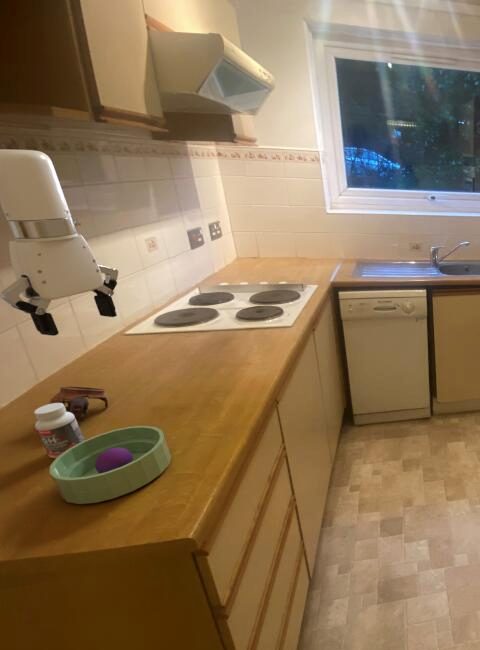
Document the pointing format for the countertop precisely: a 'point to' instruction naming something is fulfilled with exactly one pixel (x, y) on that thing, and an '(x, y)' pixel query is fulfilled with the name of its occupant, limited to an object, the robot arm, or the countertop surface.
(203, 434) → the countertop surface
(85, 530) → the countertop surface
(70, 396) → the brown arched stand
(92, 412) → the countertop surface
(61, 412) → the pill bottle
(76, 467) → the bowl
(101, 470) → the ball
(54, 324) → the robot arm
